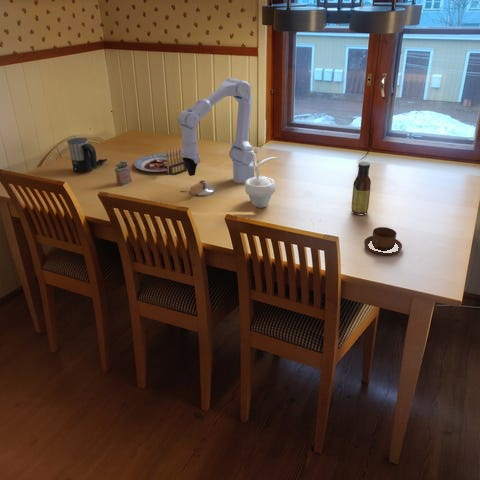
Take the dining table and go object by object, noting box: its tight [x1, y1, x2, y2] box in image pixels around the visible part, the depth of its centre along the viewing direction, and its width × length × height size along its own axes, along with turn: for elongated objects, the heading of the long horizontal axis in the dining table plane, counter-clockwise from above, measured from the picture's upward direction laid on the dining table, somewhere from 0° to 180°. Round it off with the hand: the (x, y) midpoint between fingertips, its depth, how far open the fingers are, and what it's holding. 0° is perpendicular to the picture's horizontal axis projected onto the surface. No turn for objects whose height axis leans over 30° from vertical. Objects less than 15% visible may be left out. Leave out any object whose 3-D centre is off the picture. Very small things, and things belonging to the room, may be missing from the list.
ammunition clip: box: [166, 146, 188, 176], centre depth 220 cm, size 11×2×12 cm, turn 136°
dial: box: [190, 180, 216, 197], centre depth 198 cm, size 12×10×4 cm
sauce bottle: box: [350, 161, 372, 215], centre depth 177 cm, size 6×6×20 cm
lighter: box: [114, 160, 133, 187], centre depth 210 cm, size 8×3×10 cm, turn 149°
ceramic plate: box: [134, 153, 170, 173], centre depth 232 cm, size 26×26×3 cm
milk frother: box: [66, 137, 108, 174], centre depth 227 cm, size 14×16×15 cm
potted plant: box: [244, 147, 279, 209], centre depth 184 cm, size 13×12×25 cm
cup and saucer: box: [363, 226, 403, 256], centre depth 156 cm, size 12×12×6 cm
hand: (191, 175), depth 194 cm, fingers closed
